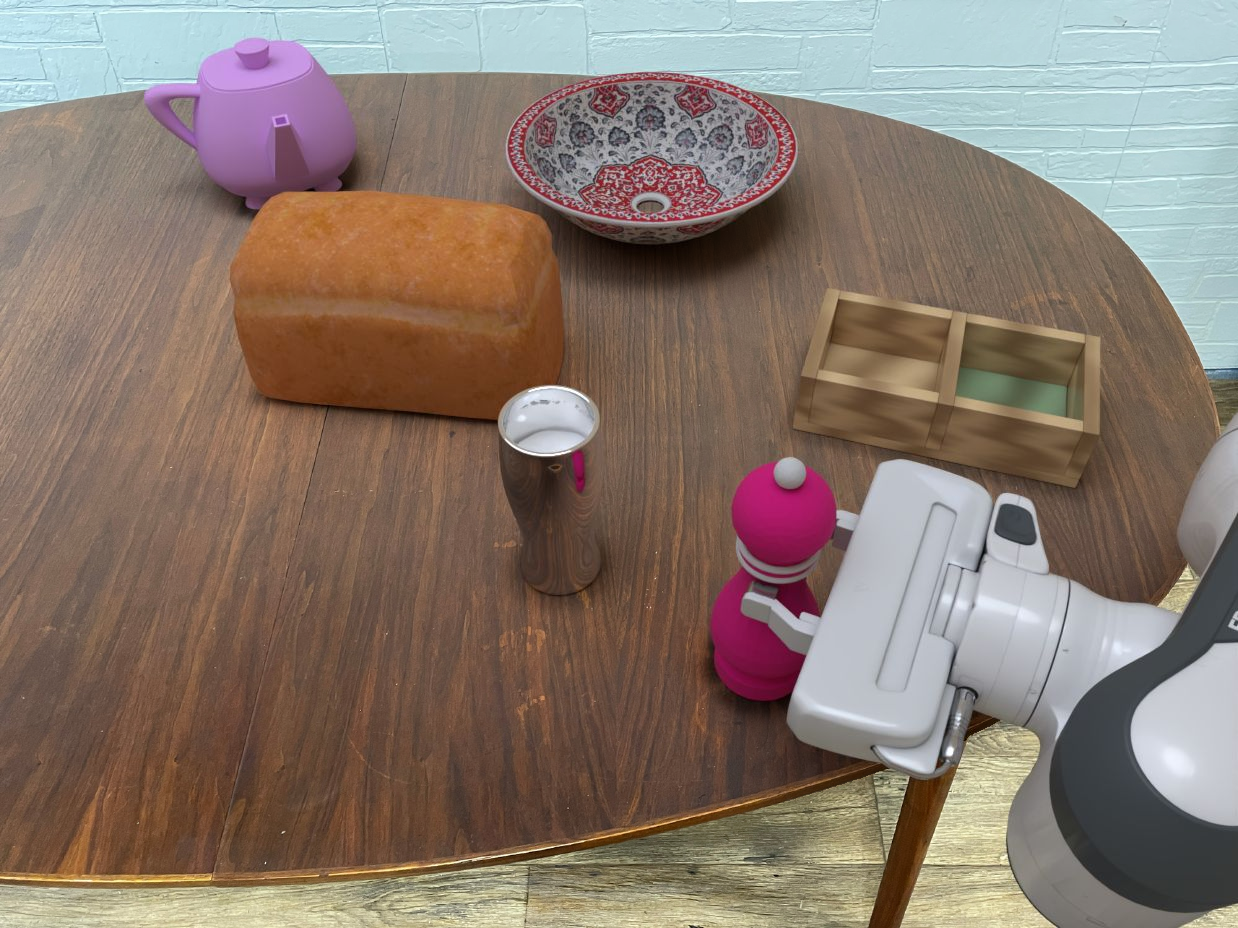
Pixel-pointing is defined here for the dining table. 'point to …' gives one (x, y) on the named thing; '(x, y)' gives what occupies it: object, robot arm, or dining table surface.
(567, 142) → the ceramic bowl
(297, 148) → the teapot
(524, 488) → the metal cup
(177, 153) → the dining table surface
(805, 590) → the pepper mill
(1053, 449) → the divided wooden box
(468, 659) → the dining table surface
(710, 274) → the dining table surface
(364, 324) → the bread
